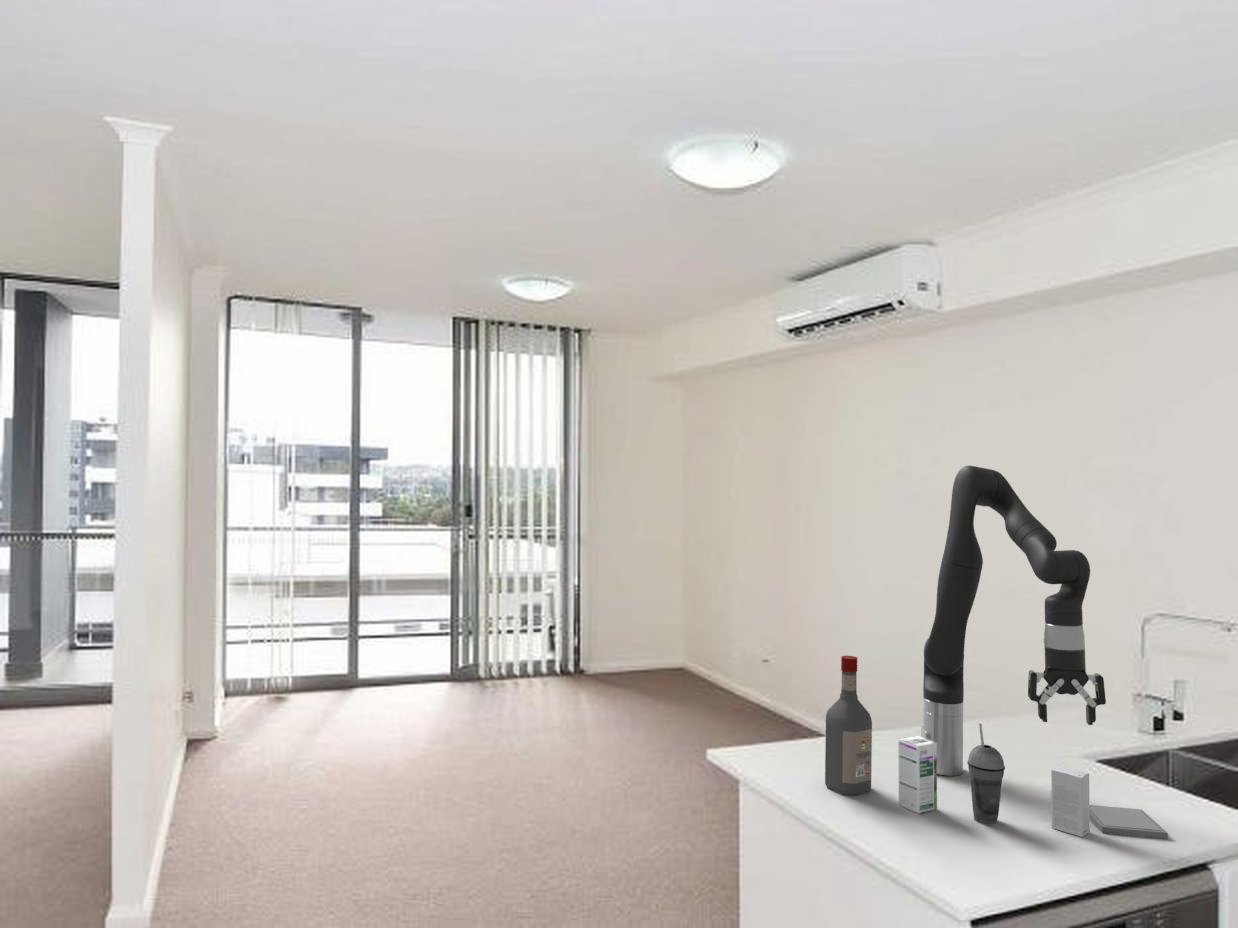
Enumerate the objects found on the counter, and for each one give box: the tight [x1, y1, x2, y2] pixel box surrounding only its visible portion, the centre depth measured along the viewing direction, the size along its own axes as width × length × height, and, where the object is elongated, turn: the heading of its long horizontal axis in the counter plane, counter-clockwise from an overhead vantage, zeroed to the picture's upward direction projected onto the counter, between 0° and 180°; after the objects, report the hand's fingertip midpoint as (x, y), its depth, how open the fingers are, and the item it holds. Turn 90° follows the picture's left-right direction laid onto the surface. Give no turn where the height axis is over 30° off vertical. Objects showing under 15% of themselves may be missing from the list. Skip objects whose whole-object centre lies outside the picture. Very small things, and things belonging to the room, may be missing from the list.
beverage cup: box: [966, 723, 1006, 826], centre depth 171 cm, size 7×7×20 cm
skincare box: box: [1050, 765, 1091, 838], centre depth 167 cm, size 6×4×12 cm
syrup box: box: [898, 735, 938, 814], centre depth 178 cm, size 6×6×14 cm
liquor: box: [824, 655, 873, 797], centre depth 188 cm, size 9×9×30 cm
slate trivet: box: [1089, 804, 1169, 840], centre depth 171 cm, size 12×12×1 cm
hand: (1066, 722), depth 172 cm, fingers open, 8 cm apart
